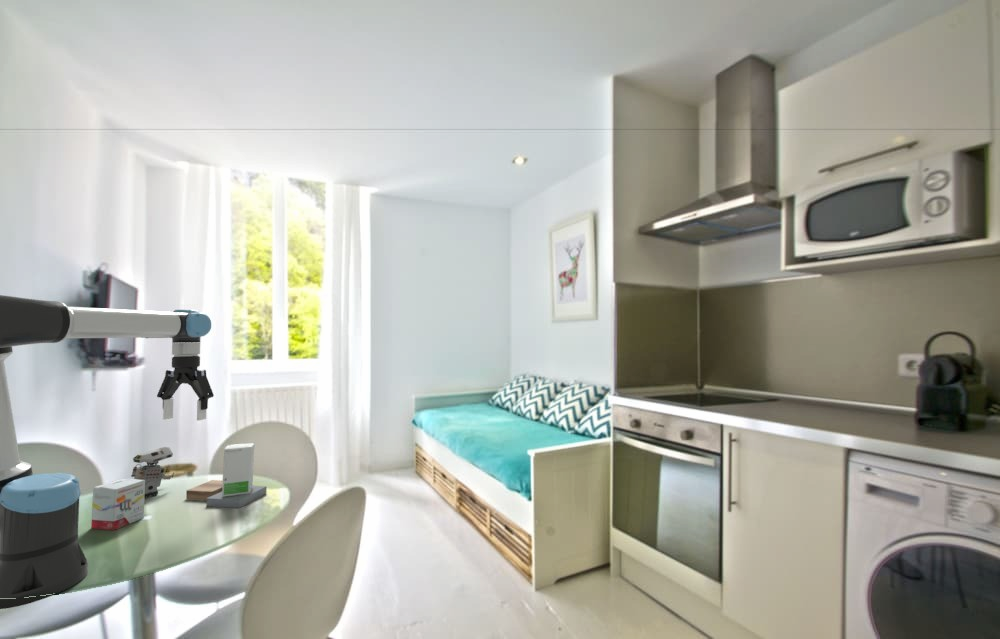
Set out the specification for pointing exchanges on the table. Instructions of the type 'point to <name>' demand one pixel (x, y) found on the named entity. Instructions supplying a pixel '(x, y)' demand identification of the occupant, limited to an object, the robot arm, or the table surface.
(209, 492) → the walnut stand
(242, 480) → the skincare box
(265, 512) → the table surface
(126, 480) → the ink box
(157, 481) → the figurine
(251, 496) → the slate slab
